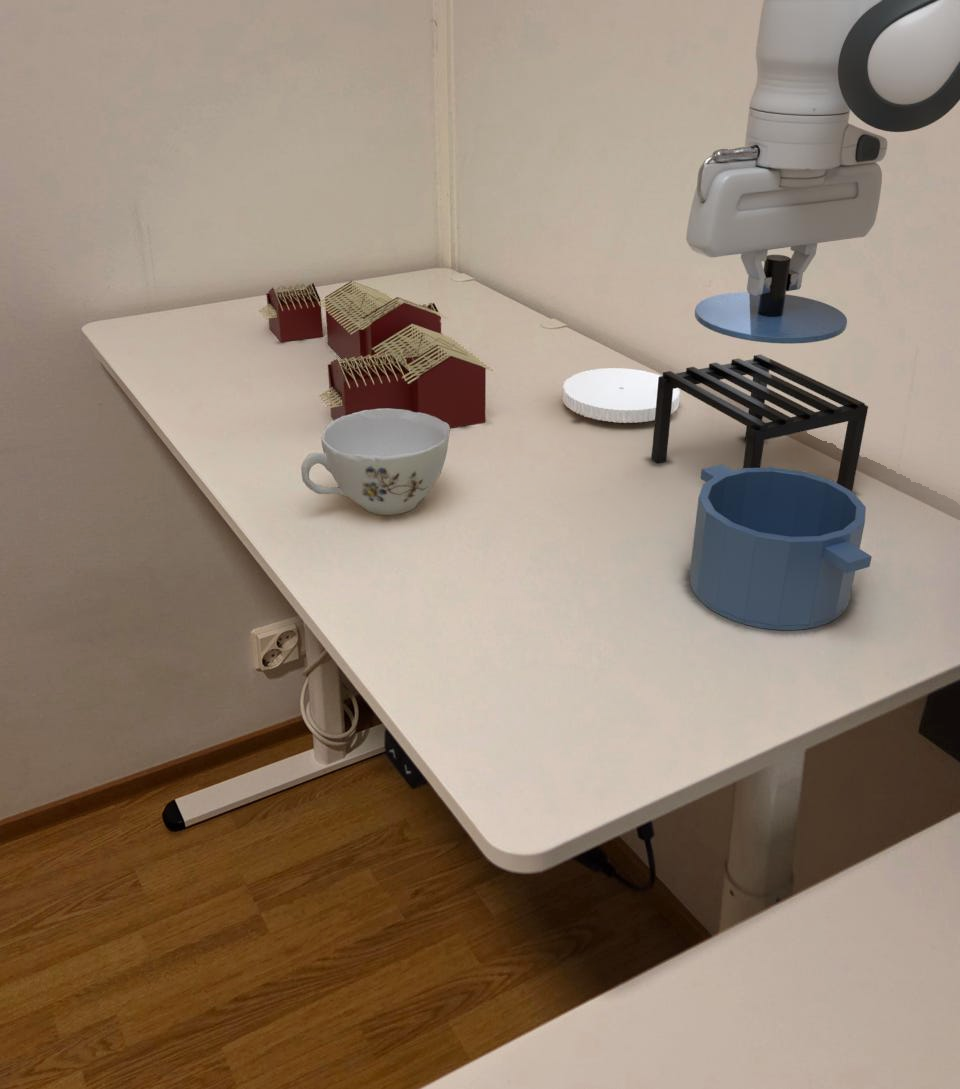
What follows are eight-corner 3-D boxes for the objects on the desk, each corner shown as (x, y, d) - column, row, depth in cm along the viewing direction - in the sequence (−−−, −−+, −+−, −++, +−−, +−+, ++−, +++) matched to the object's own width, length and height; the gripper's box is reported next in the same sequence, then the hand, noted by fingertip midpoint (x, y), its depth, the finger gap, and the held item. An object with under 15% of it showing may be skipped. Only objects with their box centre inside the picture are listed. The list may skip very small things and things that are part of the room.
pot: (759, 525, 107) (771, 445, 103) (905, 622, 93) (926, 533, 88) (643, 556, 102) (650, 473, 98) (778, 663, 87) (793, 571, 83)
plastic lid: (579, 434, 126) (580, 414, 125) (549, 390, 138) (550, 371, 137) (695, 426, 129) (697, 405, 128) (655, 383, 141) (657, 364, 140)
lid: (778, 296, 118) (787, 233, 114) (877, 336, 106) (890, 267, 103) (664, 314, 112) (671, 248, 109) (757, 358, 101) (767, 286, 97)
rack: (752, 436, 126) (764, 353, 121) (852, 493, 114) (869, 402, 109) (651, 459, 121) (658, 372, 116) (743, 521, 108) (756, 426, 103)
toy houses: (506, 418, 130) (508, 335, 125) (339, 446, 123) (334, 359, 118) (381, 312, 166) (379, 244, 161) (247, 328, 159) (239, 258, 154)
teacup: (423, 467, 119) (421, 397, 115) (471, 517, 109) (471, 442, 105) (287, 493, 113) (280, 421, 109) (324, 547, 103) (318, 470, 99)
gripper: (724, 156, 94) (706, 314, 101) (901, 140, 102) (874, 287, 109) (680, 145, 99) (666, 296, 106) (853, 130, 107) (830, 271, 114)
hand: (773, 291), depth 107 cm, fingers closed on lid, 2 cm apart
